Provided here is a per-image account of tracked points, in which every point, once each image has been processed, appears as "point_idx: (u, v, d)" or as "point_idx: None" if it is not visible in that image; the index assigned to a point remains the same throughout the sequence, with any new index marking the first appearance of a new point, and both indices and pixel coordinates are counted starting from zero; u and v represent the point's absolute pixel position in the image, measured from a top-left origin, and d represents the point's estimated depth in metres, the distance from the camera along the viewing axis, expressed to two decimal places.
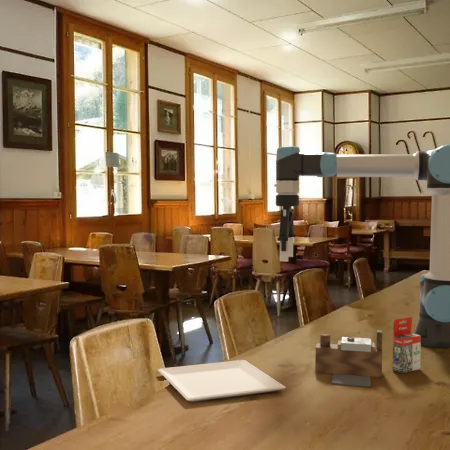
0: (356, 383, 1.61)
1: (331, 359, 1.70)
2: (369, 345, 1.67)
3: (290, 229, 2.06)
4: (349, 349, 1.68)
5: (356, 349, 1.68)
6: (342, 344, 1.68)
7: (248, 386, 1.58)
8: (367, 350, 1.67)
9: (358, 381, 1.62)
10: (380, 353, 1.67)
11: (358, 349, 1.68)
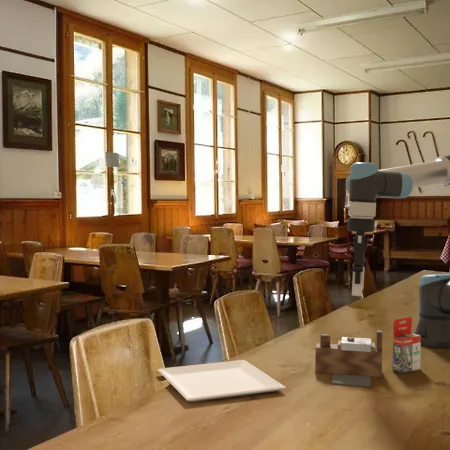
0: (356, 383, 1.61)
1: (331, 359, 1.70)
2: (369, 345, 1.67)
3: None
4: (349, 349, 1.68)
5: (356, 349, 1.68)
6: (342, 344, 1.68)
7: (248, 386, 1.58)
8: (367, 350, 1.67)
9: (358, 381, 1.62)
10: (380, 353, 1.67)
11: (358, 349, 1.68)
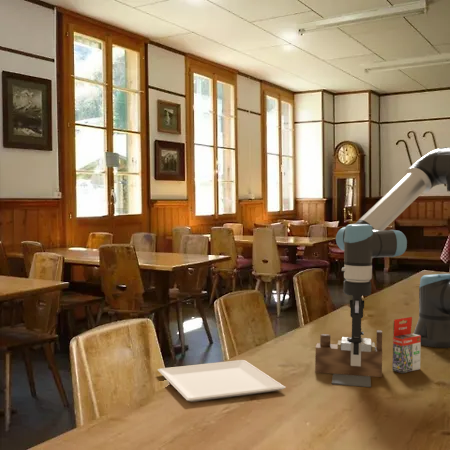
0: (356, 383, 1.61)
1: (331, 359, 1.70)
2: (369, 345, 1.67)
3: None
4: (349, 349, 1.68)
5: None
6: (342, 344, 1.68)
7: (248, 386, 1.58)
8: (367, 350, 1.67)
9: (358, 381, 1.62)
10: (380, 353, 1.67)
11: None
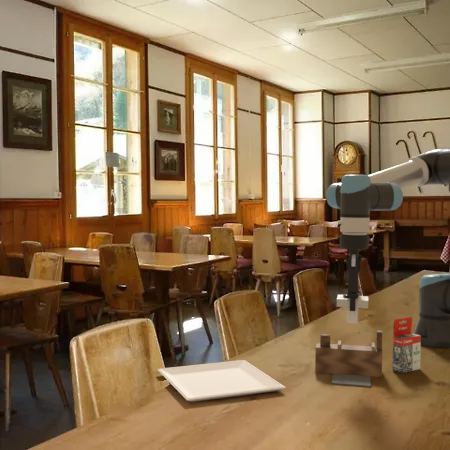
0: (356, 383, 1.61)
1: (331, 359, 1.70)
2: (366, 301, 1.59)
3: None
4: (345, 306, 1.60)
5: None
6: (338, 300, 1.60)
7: (248, 386, 1.58)
8: (364, 307, 1.59)
9: (358, 381, 1.62)
10: (380, 353, 1.67)
11: None
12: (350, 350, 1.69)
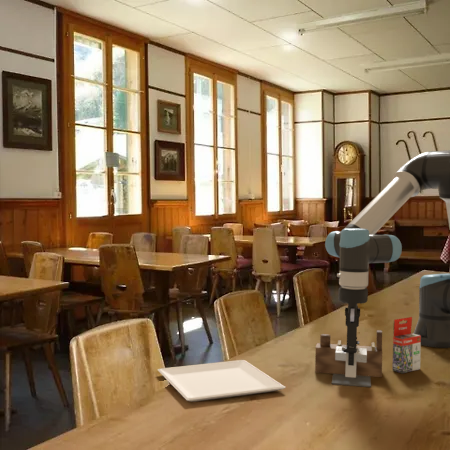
0: (356, 383, 1.61)
1: (331, 359, 1.70)
2: (365, 355, 1.59)
3: None
4: (344, 359, 1.60)
5: None
6: (336, 354, 1.61)
7: (248, 386, 1.58)
8: (362, 361, 1.59)
9: (358, 381, 1.62)
10: (380, 353, 1.67)
11: None
12: None
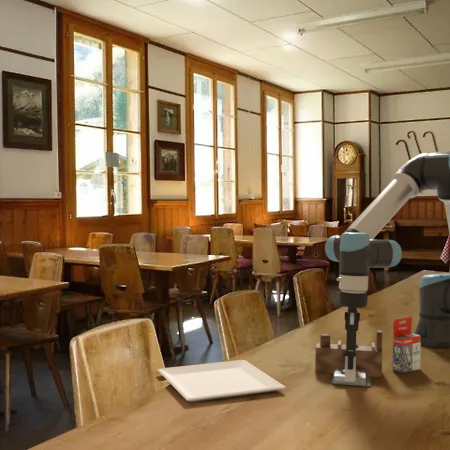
0: None
1: (331, 359, 1.70)
2: (363, 378, 1.59)
3: None
4: (342, 382, 1.60)
5: (350, 383, 1.60)
6: (335, 377, 1.60)
7: (248, 386, 1.58)
8: (361, 384, 1.59)
9: None
10: (380, 353, 1.67)
11: (352, 383, 1.60)
12: None
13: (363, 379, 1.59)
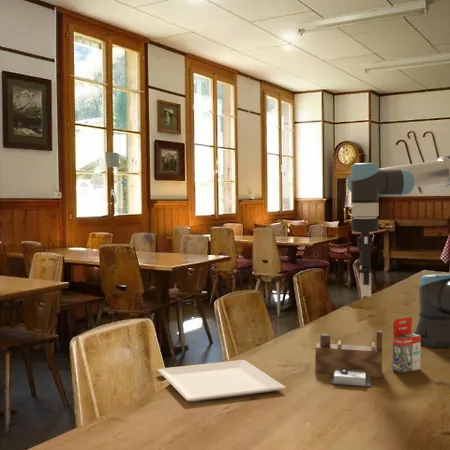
0: None
1: (331, 359, 1.70)
2: (363, 378, 1.59)
3: None
4: (342, 382, 1.60)
5: (350, 383, 1.60)
6: (335, 377, 1.60)
7: (248, 386, 1.58)
8: (361, 384, 1.59)
9: None
10: (380, 353, 1.67)
11: (352, 383, 1.60)
12: (350, 350, 1.69)
13: (363, 379, 1.59)
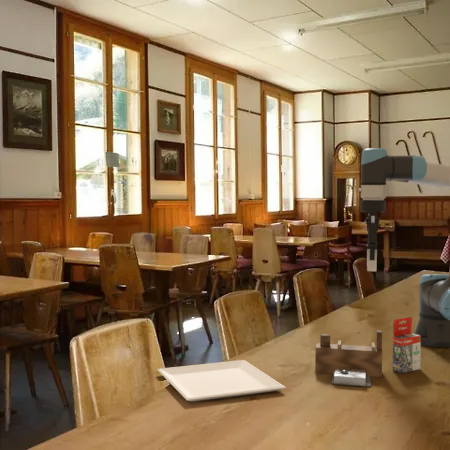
0: None
1: (331, 359, 1.70)
2: (363, 378, 1.59)
3: None
4: (342, 382, 1.60)
5: (350, 383, 1.60)
6: (335, 377, 1.60)
7: (248, 386, 1.58)
8: (361, 384, 1.59)
9: None
10: (380, 353, 1.67)
11: (352, 383, 1.60)
12: (350, 350, 1.69)
13: (363, 379, 1.59)
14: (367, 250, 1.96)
